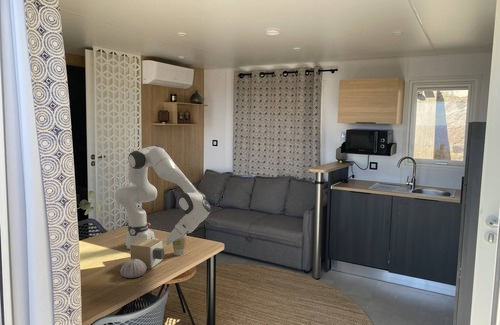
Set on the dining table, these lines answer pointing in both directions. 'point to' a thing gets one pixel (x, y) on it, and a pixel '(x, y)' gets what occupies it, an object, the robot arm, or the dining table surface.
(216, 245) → the dining table surface
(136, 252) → the carton
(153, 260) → the flap
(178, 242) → the coffee cup
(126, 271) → the sea urchin shell
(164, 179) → the robot arm
